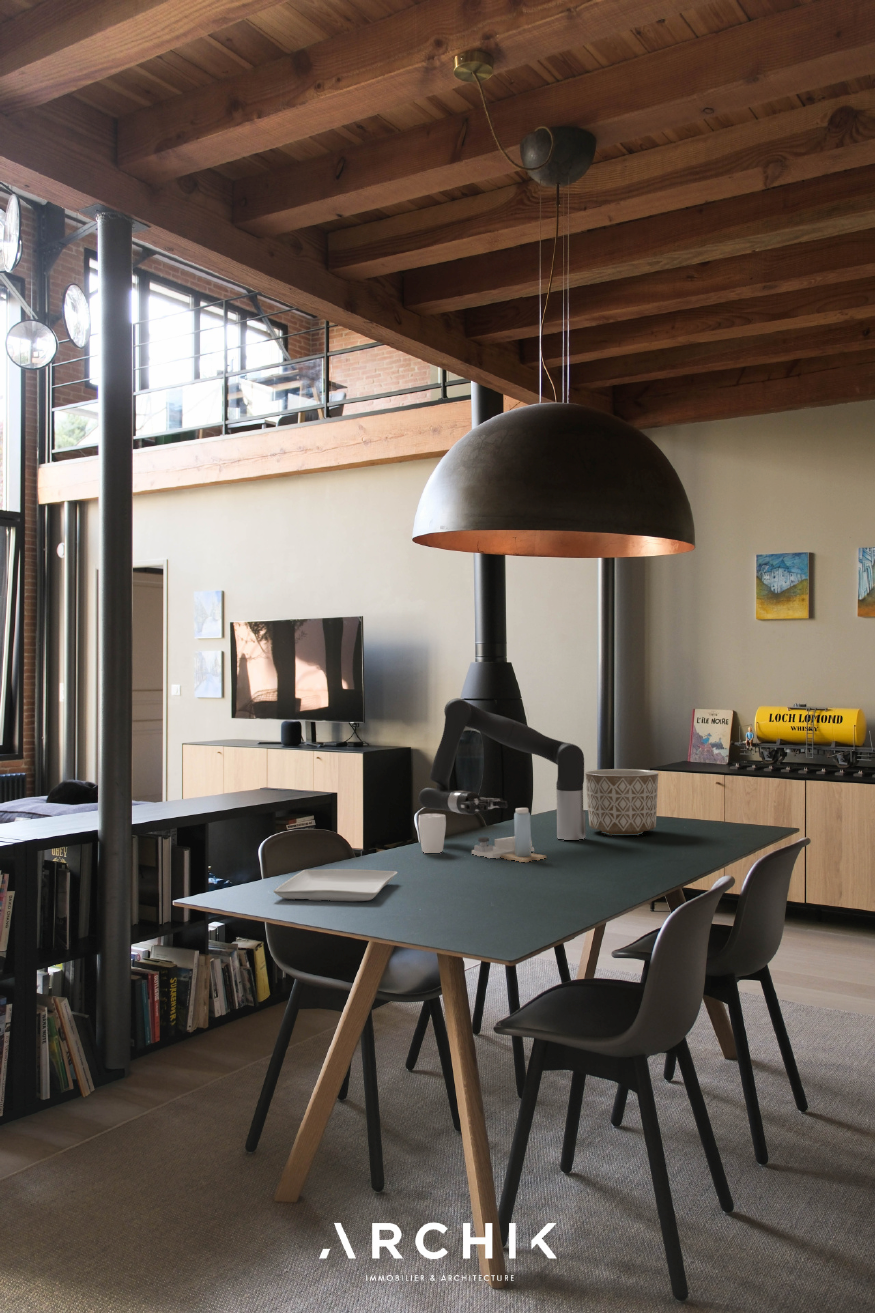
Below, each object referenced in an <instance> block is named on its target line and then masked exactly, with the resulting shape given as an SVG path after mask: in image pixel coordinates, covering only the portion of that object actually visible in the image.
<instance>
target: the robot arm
mask: <svg viewBox="0 0 875 1313" xmlns="http://www.w3.org/2000/svg"><path fill="white" fill-rule="evenodd" d="M444 716H445V717H444V725H443V726H444V727H443V732H442V735H441V738H440V739H441V740H440V742H439V746H438V748H437V750H436V753H435V756H434V759H433V762H432V764H431V766H432V767H431V768H430V772H429V780H431V781H432V782H434V783H435V784H436V788H433V787H432V788H431V787H425V788H423V789H422V790H420V792H419V794H418V802H419V804H420V806H422V807H423V808H425V809H431V810H437V811H438V810H440V811H441V810H443V811H446V812H453V813H454V812H455V813H457V814H463V815H471V816H473V815H477V813H478V812H480V811H481V812H488V811H489V810H493V809H494V808H498V809H499V808H501V809H507V808H508V801H507V800H504V799H503V798H496V797H495V798H494V797H487V798H486V797H480V795H479V794H478V792H475V791H465V790H450V779H451V775H452V771H453V768H454V764H455V759H456V755H457V752H458V748H459V744H460V740H461V738H462V735H463V732H464V730H465V728H470V729H472V730H475V731H478V732H480V733H482V734H483V735H485V736H487V737H488V738H490V739H492V740H494V741H496V742H498V743H499V744H502V745H504V746H507V747H508V748H511V749H514V750H517V751H519V752H523V753H528V754H532V755H536V756H539V757H541V758H544V759H546V760H547V761H549V762H551V763H553V764H554V765H556V766H557V779H556V783H555V784H556V839H557V838H558V839H564V840H579V839H583V840H585V839H586V838H587V836H586V835H587V834H586V811H585V810H584V783H585V757H584V752H583V750H582V749H581V747H579V746H578V745H576V744H574V743H570V742H564V741H561V740H558V739H555V738H551V737H548V736H546V735H544V733H543V734H542V733H541V732H539V731H537V730H536V729H534V728H532V727H530V726H528V725H526V724H524V723H521V722H519V721H517V720H514V719H511V718H509V717H506V716H503V715H499V714H495V713H492V712H488V711H486V710H483V709H481V708H479V707H477V706H475V705H474V704H471V703H469V702H468V701H466V700H465V699H463V698H458V697H457V698H453V699H450V700H449V701H447V702H446V704H445V706H444ZM585 837H586V838H585ZM584 838H585V839H584ZM558 839H557V840H558ZM564 840H563V841H564ZM579 841H580V840H579Z"/></svg>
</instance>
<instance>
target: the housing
mask: <svg viewBox="0 0 875 1313" xmlns="http://www.w3.org/2000/svg"><path fill="white" fill-rule="evenodd" d="M532 842H533V841H532V839H531V851H534V852H535V847H533V845H532V844H533V843H532ZM473 847H474V849H471V855H472V854H474V855H473V856H475V855H477V856H476V857H480V856H484V857H483V858H485V857H487V859H490V858H496V859H501V858H500V857H501V855H506V854H512V853H515V836H510V837H509V836H508V837H501V838H496V839H495V838H494V845H492V844H487V846H485V847H482V846H480V844H475V845H474V846H473Z"/></svg>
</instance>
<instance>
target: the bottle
mask: <svg viewBox="0 0 875 1313" xmlns="http://www.w3.org/2000/svg"><path fill="white" fill-rule="evenodd" d="M513 824H514V825H513V826H514V827H513V828H514V837H515V856H518V857H528V856H531V840H532V835H531V834H532V833H531V832H532V831H531V813H530V812H529V808H528V807H516V808H515V812H514V813H513Z"/></svg>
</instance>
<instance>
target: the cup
mask: <svg viewBox="0 0 875 1313" xmlns="http://www.w3.org/2000/svg"><path fill="white" fill-rule="evenodd" d="M417 823H418V832H419V839H420V845H421V847H420V848H421V852H422V851H423V852H424V853H423V852H422V853H423V854H425V853H440V852H442V851H444V843H445V835H446V829H447V828H446V827H447V820H446V814H444V813H443V814H442V813H422V814H419V815H418V822H417ZM442 853H443V852H442ZM440 854H441V853H440Z"/></svg>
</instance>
